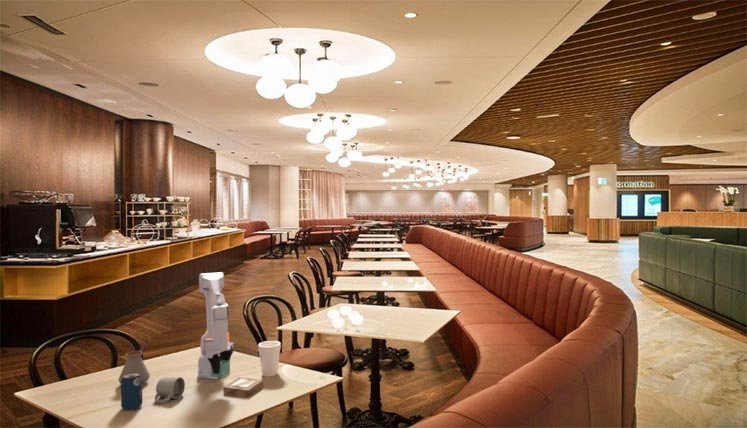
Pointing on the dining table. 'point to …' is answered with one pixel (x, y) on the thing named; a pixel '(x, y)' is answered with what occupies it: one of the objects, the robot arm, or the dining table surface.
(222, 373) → the teal cube
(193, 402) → the dining table surface
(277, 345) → the foam cup
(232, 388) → the walnut base
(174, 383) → the ceramic mug
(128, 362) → the coffee pot
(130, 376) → the soda can
